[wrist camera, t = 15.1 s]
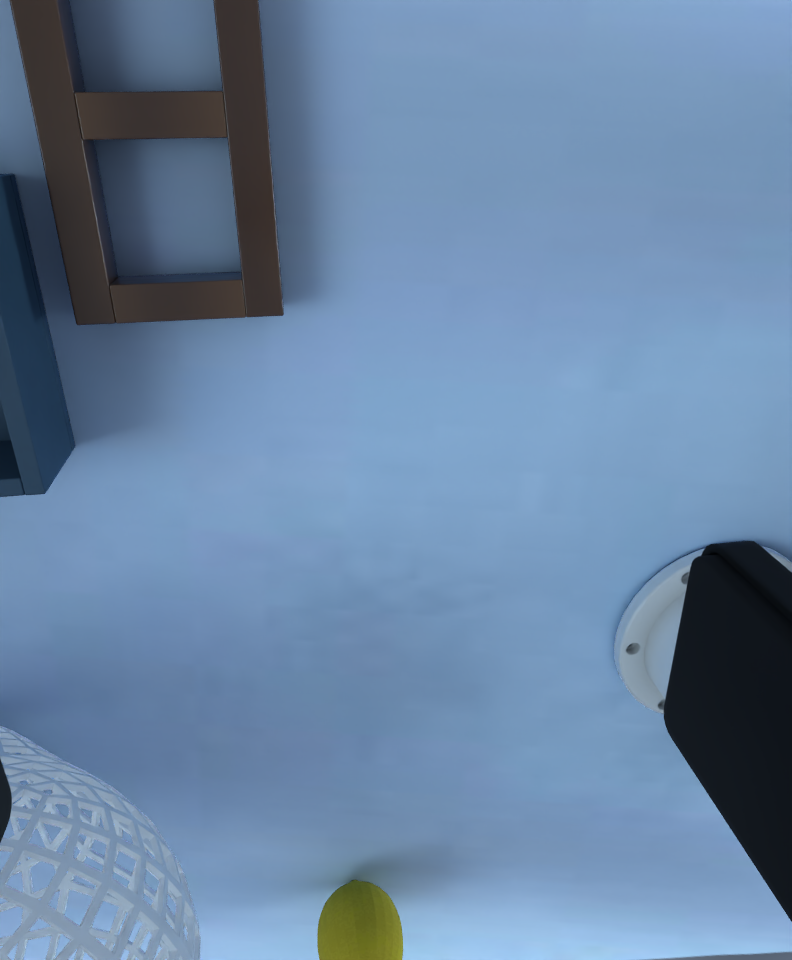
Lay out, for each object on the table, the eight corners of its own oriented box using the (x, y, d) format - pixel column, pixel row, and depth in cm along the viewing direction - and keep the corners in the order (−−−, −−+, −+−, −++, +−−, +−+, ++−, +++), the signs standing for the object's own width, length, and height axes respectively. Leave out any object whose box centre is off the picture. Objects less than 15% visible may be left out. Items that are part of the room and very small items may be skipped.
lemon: (305, 905, 51) (310, 1030, 44) (326, 851, 49) (335, 973, 42) (380, 910, 53) (396, 1032, 45) (403, 857, 50) (424, 977, 43)
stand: (248, -125, 26) (246, -144, 25) (283, 305, 33) (283, 315, 31) (-2, -132, 25) (-23, -152, 24) (87, 314, 32) (75, 325, 30)
